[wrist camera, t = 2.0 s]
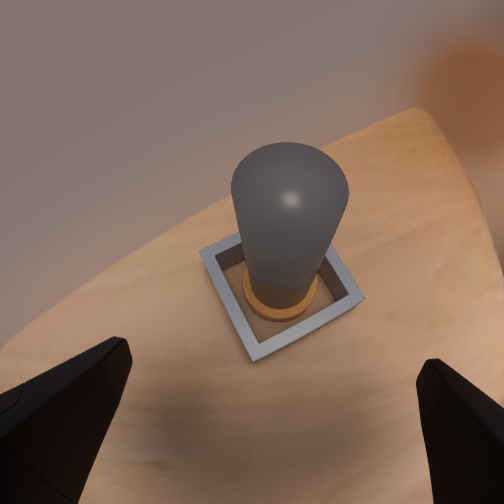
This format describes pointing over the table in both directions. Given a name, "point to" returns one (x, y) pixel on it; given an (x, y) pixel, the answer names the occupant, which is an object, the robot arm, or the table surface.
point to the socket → (346, 298)
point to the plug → (286, 224)
